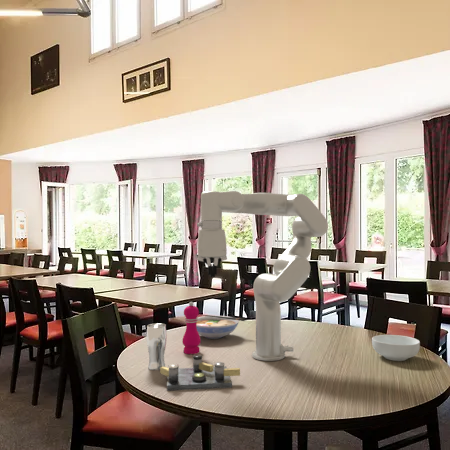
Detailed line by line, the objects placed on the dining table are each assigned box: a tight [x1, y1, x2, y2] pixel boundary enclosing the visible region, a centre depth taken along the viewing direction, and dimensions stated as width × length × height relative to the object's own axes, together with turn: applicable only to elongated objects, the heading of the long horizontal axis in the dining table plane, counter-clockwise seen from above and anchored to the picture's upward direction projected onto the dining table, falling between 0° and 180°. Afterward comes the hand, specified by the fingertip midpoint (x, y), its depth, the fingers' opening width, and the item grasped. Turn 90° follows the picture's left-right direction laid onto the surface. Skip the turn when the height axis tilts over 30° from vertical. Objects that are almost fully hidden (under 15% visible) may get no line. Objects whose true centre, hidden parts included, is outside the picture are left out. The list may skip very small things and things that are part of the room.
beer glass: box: [146, 322, 167, 371], centre depth 160 cm, size 7×7×15 cm
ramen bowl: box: [196, 314, 248, 340], centre depth 203 cm, size 25×23×8 cm
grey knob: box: [213, 361, 241, 380], centre depth 144 cm, size 8×3×5 cm, turn 96°
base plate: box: [166, 365, 233, 392], centre depth 147 cm, size 20×16×3 cm
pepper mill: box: [182, 301, 201, 355], centre depth 179 cm, size 7×7×20 cm
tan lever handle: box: [192, 354, 214, 372], centre depth 150 cm, size 8×3×5 cm, turn 49°
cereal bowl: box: [371, 334, 421, 362], centre depth 170 cm, size 17×17×7 cm
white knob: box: [159, 363, 180, 382], centre depth 144 cm, size 8×3×5 cm, turn 41°
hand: (212, 276), depth 162 cm, fingers closed
